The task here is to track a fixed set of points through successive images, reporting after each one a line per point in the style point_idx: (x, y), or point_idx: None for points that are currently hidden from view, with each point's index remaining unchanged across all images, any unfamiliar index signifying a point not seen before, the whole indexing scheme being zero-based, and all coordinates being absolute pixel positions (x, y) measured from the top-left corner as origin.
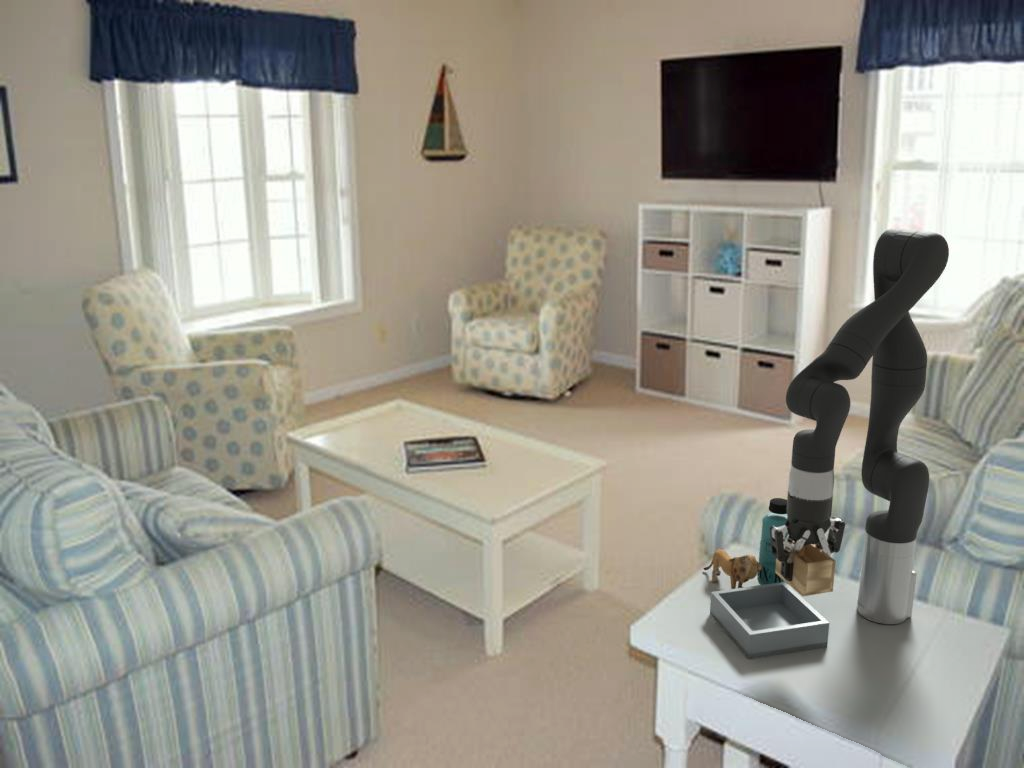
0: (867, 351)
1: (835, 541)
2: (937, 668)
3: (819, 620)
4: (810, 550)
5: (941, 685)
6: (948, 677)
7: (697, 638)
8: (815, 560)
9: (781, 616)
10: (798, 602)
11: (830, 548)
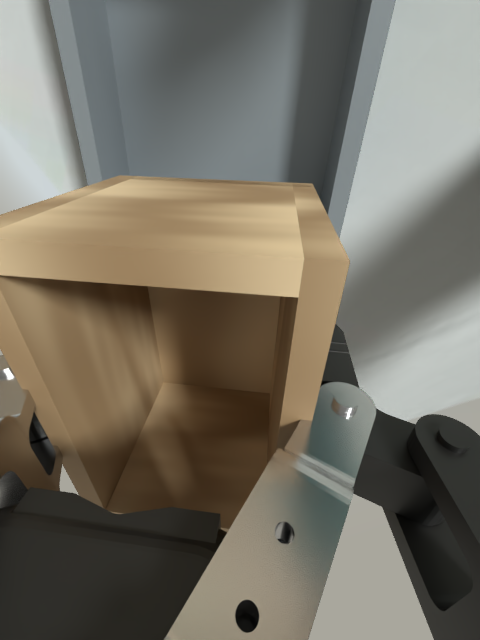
0: None
1: (420, 592)
2: (465, 351)
3: (328, 209)
4: (285, 342)
5: (417, 382)
6: (452, 373)
7: (18, 56)
8: (278, 367)
9: (303, 31)
10: (359, 51)
11: (370, 495)
